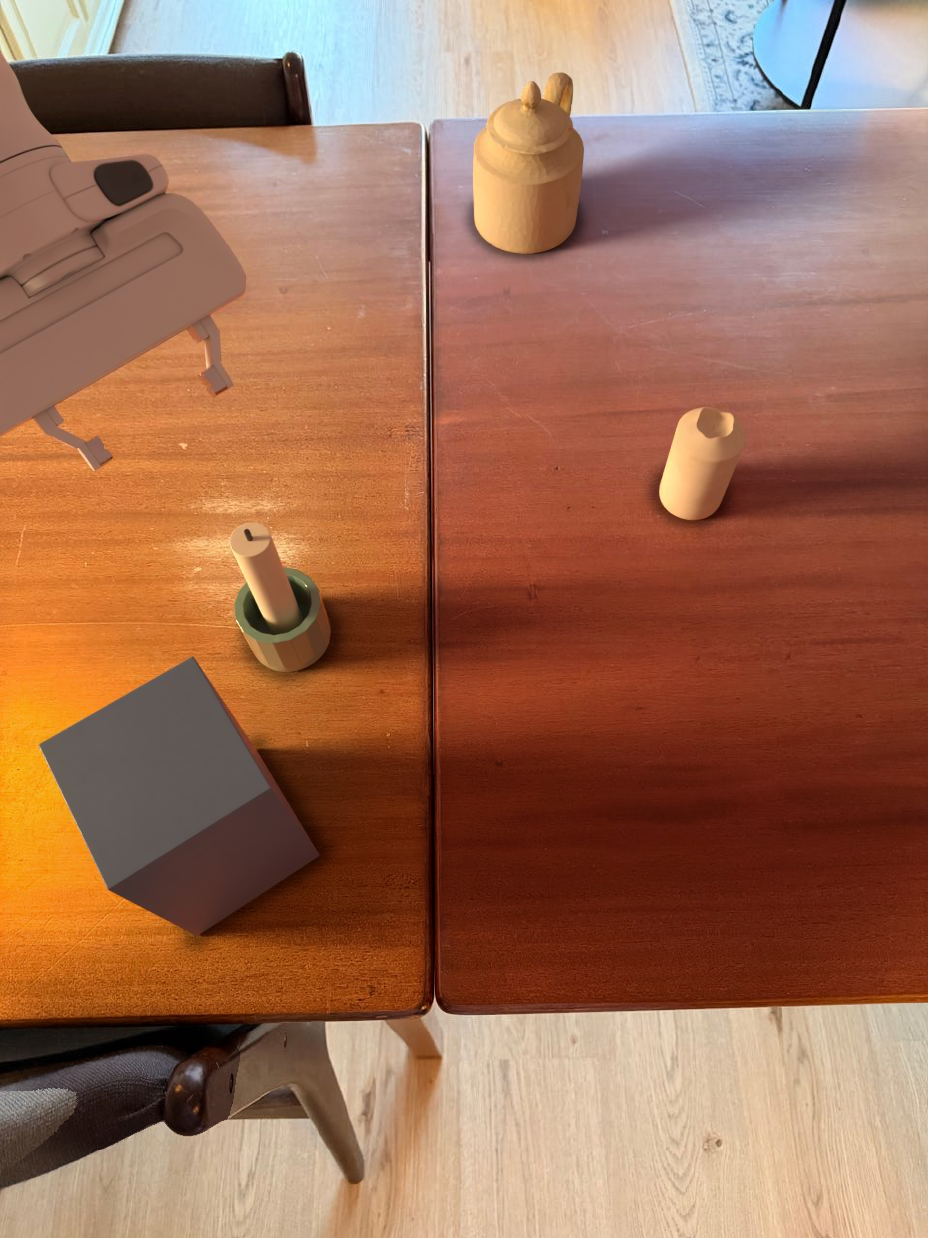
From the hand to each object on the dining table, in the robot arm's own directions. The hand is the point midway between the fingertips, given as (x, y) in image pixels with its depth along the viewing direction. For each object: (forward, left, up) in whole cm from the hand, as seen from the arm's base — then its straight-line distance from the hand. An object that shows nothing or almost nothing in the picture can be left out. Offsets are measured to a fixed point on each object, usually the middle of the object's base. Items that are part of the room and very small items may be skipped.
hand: (165, 427), depth 61 cm
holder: (+1, -8, -19) cm, 21 cm away
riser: (-11, -20, -19) cm, 30 cm away
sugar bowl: (+47, +23, -19) cm, 55 cm away
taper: (+1, -8, -18) cm, 20 cm away
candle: (+37, -16, -19) cm, 45 cm away
